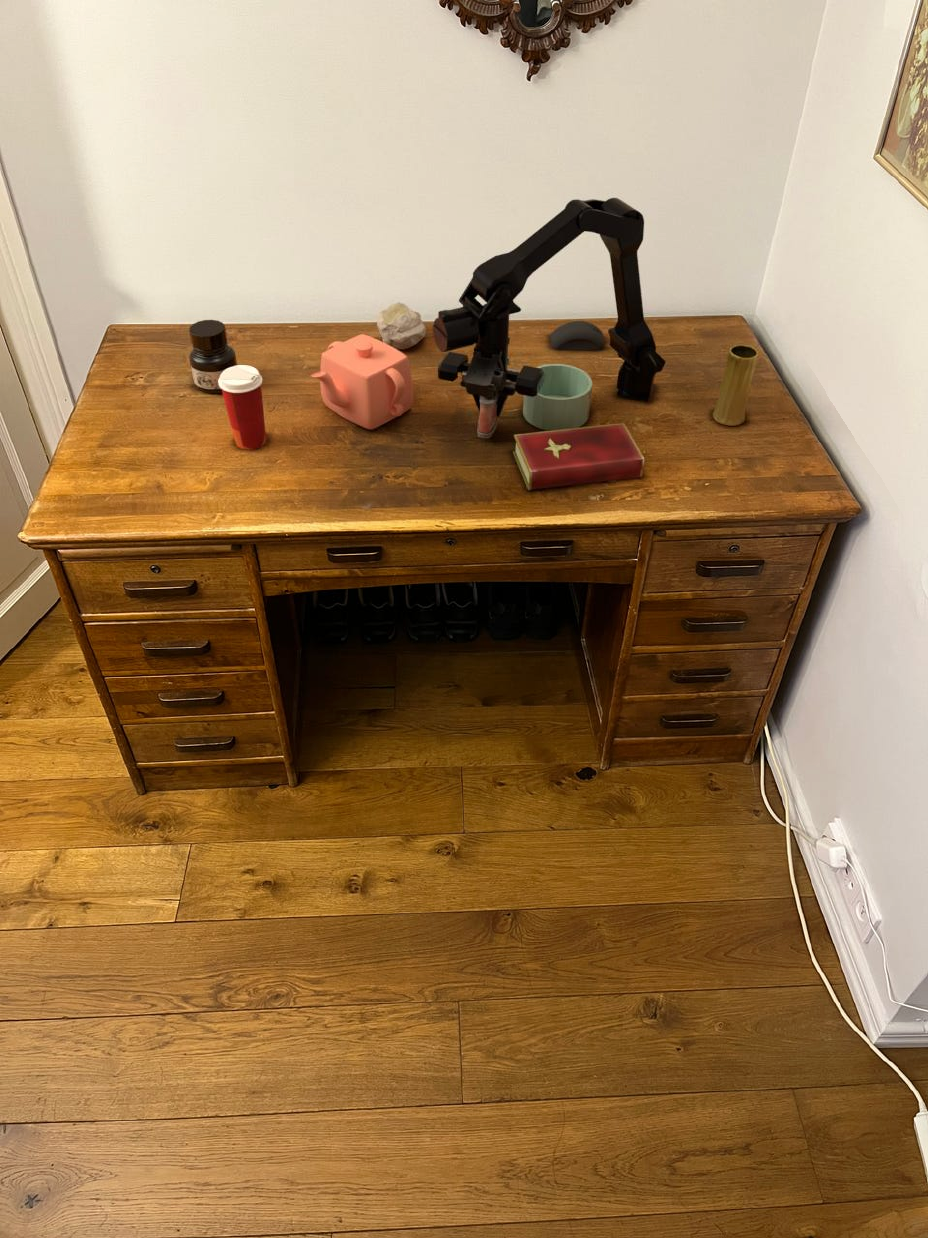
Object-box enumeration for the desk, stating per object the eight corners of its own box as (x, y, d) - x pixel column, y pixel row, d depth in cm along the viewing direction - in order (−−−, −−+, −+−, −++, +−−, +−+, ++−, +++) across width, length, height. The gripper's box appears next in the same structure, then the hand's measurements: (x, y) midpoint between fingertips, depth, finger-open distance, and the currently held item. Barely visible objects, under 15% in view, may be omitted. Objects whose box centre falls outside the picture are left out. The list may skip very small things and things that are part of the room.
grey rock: (432, 332, 214) (387, 332, 215) (428, 294, 208) (382, 295, 210) (422, 356, 204) (375, 356, 206) (418, 317, 199) (370, 317, 201)
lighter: (491, 439, 182) (496, 392, 175) (474, 436, 182) (477, 389, 175) (499, 415, 188) (504, 369, 180) (482, 412, 188) (486, 366, 181)
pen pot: (595, 402, 194) (599, 370, 189) (579, 436, 185) (582, 404, 180) (533, 390, 197) (535, 358, 192) (514, 423, 188) (516, 391, 183)
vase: (747, 413, 192) (764, 347, 182) (740, 429, 188) (756, 362, 178) (717, 406, 193) (731, 340, 183) (709, 421, 189) (723, 355, 179)
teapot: (284, 415, 190) (275, 350, 180) (358, 376, 200) (353, 313, 190) (354, 456, 180) (349, 390, 170) (428, 414, 190) (427, 349, 180)
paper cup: (278, 434, 185) (268, 367, 175) (259, 456, 180) (248, 389, 170) (241, 426, 187) (229, 360, 177) (221, 448, 181) (208, 381, 172)
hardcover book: (642, 478, 176) (645, 458, 173) (528, 491, 173) (530, 471, 170) (621, 440, 184) (624, 421, 181) (512, 452, 181) (513, 433, 178)
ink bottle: (184, 388, 196) (172, 333, 188) (208, 367, 202) (198, 313, 193) (226, 398, 193) (216, 343, 185) (249, 377, 199) (240, 322, 191)
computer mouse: (604, 350, 208) (606, 333, 206) (551, 349, 208) (552, 332, 206) (601, 335, 213) (604, 318, 210) (550, 335, 213) (551, 317, 210)
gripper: (425, 350, 169) (427, 427, 180) (530, 369, 164) (525, 447, 175) (448, 320, 176) (448, 396, 187) (548, 338, 172) (542, 414, 183)
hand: (489, 414), depth 183 cm, fingers closed on lighter, 3 cm apart
